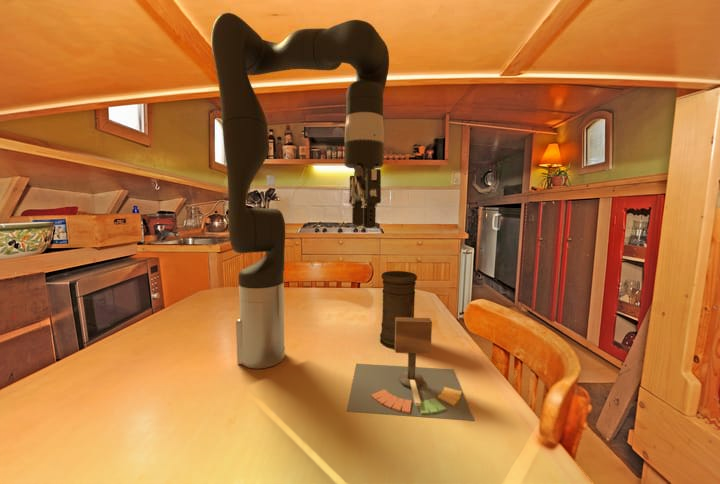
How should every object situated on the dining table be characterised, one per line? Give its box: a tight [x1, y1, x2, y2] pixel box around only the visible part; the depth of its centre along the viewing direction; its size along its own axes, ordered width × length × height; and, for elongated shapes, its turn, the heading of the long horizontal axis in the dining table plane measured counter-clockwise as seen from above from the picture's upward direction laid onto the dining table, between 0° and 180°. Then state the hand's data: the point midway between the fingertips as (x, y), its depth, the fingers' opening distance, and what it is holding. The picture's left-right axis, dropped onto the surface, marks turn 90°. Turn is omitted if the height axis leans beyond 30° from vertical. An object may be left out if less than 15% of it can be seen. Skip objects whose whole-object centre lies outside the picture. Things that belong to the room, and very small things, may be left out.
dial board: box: [346, 363, 475, 422], centre depth 55 cm, size 20×15×2 cm
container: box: [379, 270, 418, 350], centre depth 74 cm, size 9×9×18 cm
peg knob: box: [394, 317, 433, 406], centre depth 53 cm, size 10×6×12 cm, turn 178°
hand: (362, 226), depth 60 cm, fingers open, 8 cm apart
